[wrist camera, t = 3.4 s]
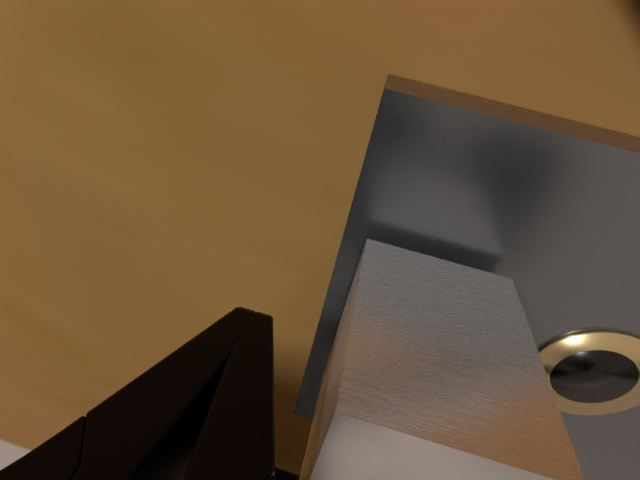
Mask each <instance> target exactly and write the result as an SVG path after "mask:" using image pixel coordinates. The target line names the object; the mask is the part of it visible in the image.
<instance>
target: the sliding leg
mask: <svg viewBox="0 0 640 480" xmlns="http://www.w3.org/2000/svg"><path fill="white" fill-rule="evenodd" d="M299 480H584V477H583V474H582V471H581V469H580V466H579V463H578V460H577V458H576V455H575V452H574V449H573V447H572V444H571V441H570V438H569V435H568V433H567V430H566V427H565V424H564V422H563V419H562V416H561V413H560V411H559V408H558V405H557V402H556V399H555V397H554V394H553V391H552V388H551V386H550V383H549V380H548V377H547V374H546V372H545V369H544V366H543V363H542V361H541V358H540V355H539V352H538V350H537V347H536V344H535V341H534V338H533V336H532V333H531V330H530V327H529V325H528V322H527V319H526V316H525V313H524V311H523V308H522V305H521V302H520V300H519V297H518V294H517V291H516V289H515V286H514V283H513V280H512V279H511V278H508V277H504V276H500V275H497V274H493V273H490V272H486V271H482V270H479V269H475V268H472V267H468V266H464V265H461V264H457V263H454V262H450V261H446V260H443V259H439V258H436V257H432V256H429V255H425V254H421V253H418V252H414V251H411V250H407V249H403V248H400V247H396V246H393V245H389V244H385V243H382V242H378V241H375V240H371V239H367V240H366V243H365V246H364V249H363V252H362V255H361V258H360V262H359V265H358V268H357V271H356V274H355V277H354V280H353V283H352V286H351V290H350V293H349V296H348V299H347V302H346V305H345V308H344V311H343V314H342V317H341V321H340V324H339V327H338V330H337V333H336V336H335V339H334V342H333V345H332V349H331V352H330V355H329V358H328V361H327V364H326V367H325V370H324V374H323V378H322V383H321V387H320V391H319V395H318V400H317V404H316V408H315V413H314V417H313V421H312V426H311V430H310V434H309V439H308V443H307V447H306V452H305V456H304V460H303V465H302V469H301V473H300V477H299Z"/></svg>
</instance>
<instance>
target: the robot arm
mask: <svg viewBox="0 0 640 480" xmlns="http://www.w3.org/2000/svg"><path fill="white" fill-rule="evenodd" d="M0 480H298V479H295V478H293V477H289V476H286V475H283V474H280V473H277V472H275V426H274V361H273V318H272V316H270V315H267V314H264V313H260V312H255V311H253V310H250V309H246V308H243V307H237V308H235V309H234V310H232V311H231V312H229V313H228V314H227V315H225V316H224V317H222V318H221V319H219V320H218V321H217V322H215V323H214V324H212V325H211V326H210V327H208V328H207V329H205V330H204V331H202V332H201V333H200V334H198V335H197V336H195V337H194V338H192V339H191V340H190V341H188V342H187V343H185V344H184V345H183V346H181V347H180V348H178V349H177V350H175V351H174V352H173V353H171V354H170V355H168V356H167V357H166V358H164V359H163V360H161V361H160V362H158V363H157V364H156V365H154V366H153V367H151V368H150V369H149V370H147V371H146V372H144V373H143V374H141V375H140V376H139V377H137V378H136V379H134V380H133V381H132V382H130V383H129V384H127V385H126V386H124V387H123V388H122V389H120V390H119V391H117V392H116V393H115V394H113V395H112V396H110V397H109V398H107V399H106V400H105V401H103V402H102V403H100V404H99V405H97V406H96V407H95V408H93V409H92V410H90V411H89V412H88V413H87V414H86V417H85V416H82V417H80V418H79V419H77V420H76V421H74V422H73V423H72V424H70V425H69V426H67V427H66V428H65V429H63V430H62V431H60V432H59V433H57V434H56V435H54V436H53V437H51V438H50V439H48V440H47V441H45V442H44V443H42V444H41V445H40V446H38V447H37V448H35V449H34V450H32V451H31V452H29V453H28V454H26V455H25V456H23V457H22V458H20V459H18V460H17V461H15V462H13V463H12V464H10V465H9V466H7V467H5V468H4V469H2V470H0Z"/></svg>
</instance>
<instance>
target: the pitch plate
mask: <svg viewBox="0 0 640 480" xmlns="http://www.w3.org/2000/svg"><path fill="white" fill-rule="evenodd" d="M367 239H371V240H375V241H378V242H382V243H385V244H389V245H393V246H396V247H400V248H403V249H407V250H411V251H414V252H418V253H421V254H425V255H429V256H432V257H436V258H439V259H443V260H446V261H450V262H454V263H457V264H461V265H464V266H468V267H472V268H475V269H479V270H482V271H486V272H490V273H493V274H497V275H500V276H504V277H508V278H511V279H512V280H513V283H514V286H515V289H516V291H517V294H518V297H519V300H520V302H521V305H522V308H523V311H524V313H525V316H526V319H527V322H528V325H529V327H530V330H531V333H532V336H533V338H534V341H535V344H536V347H537V350H538V352H539V355H540V358H541V361H542V363H543V366H544V369H545V372H546V374H547V377H548V380H549V383H550V386H551V388H552V391H553V394H554V397H555V399H556V402H557V405H558V408H559V411H560V413H561V416H562V419H563V422H564V424H565V427H566V430H567V433H568V435H569V438H570V441H571V444H572V447H573V449H574V452H575V455H576V458H577V460H578V463H579V466H580V469H581V471H582V474H583V477H584V480H640V138H639V137H635V136H631V135H627V134H624V133H620V132H616V131H612V130H608V129H604V128H600V127H596V126H592V125H588V124H584V123H580V122H576V121H572V120H568V119H564V118H560V117H556V116H552V115H548V114H544V113H540V112H536V111H532V110H528V109H524V108H520V107H517V106H513V105H509V104H505V103H501V102H497V101H493V100H489V99H485V98H481V97H477V96H473V95H469V94H465V93H461V92H457V91H453V90H449V89H445V88H441V87H437V86H433V85H429V84H425V83H421V82H417V81H413V80H410V79H406V78H402V77H398V76H394V75H390V74H388V77H387V81H386V84H385V88H384V91H383V95H382V98H381V102H380V105H379V109H378V113H377V116H376V120H375V123H374V127H373V131H372V134H371V138H370V141H369V145H368V148H367V152H366V156H365V159H364V163H363V166H362V170H361V174H360V177H359V181H358V184H357V188H356V192H355V195H354V199H353V202H352V206H351V209H350V213H349V217H348V220H347V224H346V227H345V231H344V235H343V238H342V242H341V245H340V249H339V252H338V256H337V260H336V263H335V267H334V270H333V274H332V278H331V281H330V285H329V288H328V292H327V296H326V299H325V303H324V306H323V310H322V313H321V317H320V321H319V324H318V328H317V331H316V335H315V339H314V342H313V346H312V349H311V353H310V357H309V360H308V364H307V367H306V371H305V374H304V378H303V382H302V385H301V389H300V392H299V396H298V400H297V403H296V407H295V410H294V413H297V414H300V415H304V416H307V417H310V418H313V417H314V413H315V408H316V404H317V400H318V395H319V391H320V387H321V383H322V378H323V374H324V370H325V367H326V364H327V361H328V358H329V355H330V352H331V349H332V345H333V342H334V339H335V336H336V333H337V330H338V327H339V324H340V321H341V317H342V314H343V311H344V308H345V305H346V302H347V299H348V296H349V293H350V290H351V286H352V283H353V280H354V277H355V274H356V271H357V268H358V265H359V262H360V258H361V255H362V252H363V249H364V246H365V243H366V240H367Z"/></svg>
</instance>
